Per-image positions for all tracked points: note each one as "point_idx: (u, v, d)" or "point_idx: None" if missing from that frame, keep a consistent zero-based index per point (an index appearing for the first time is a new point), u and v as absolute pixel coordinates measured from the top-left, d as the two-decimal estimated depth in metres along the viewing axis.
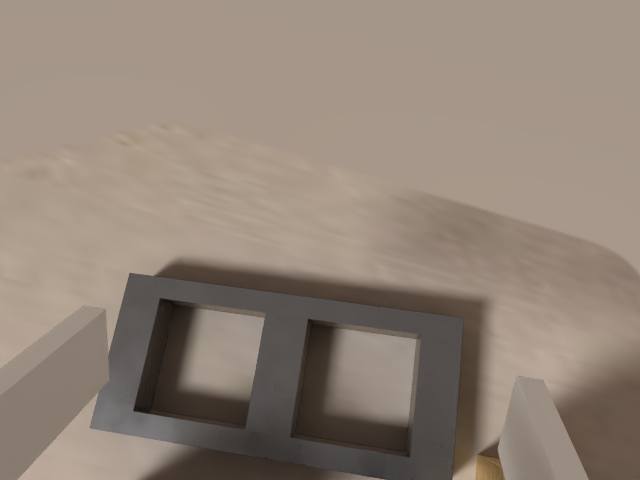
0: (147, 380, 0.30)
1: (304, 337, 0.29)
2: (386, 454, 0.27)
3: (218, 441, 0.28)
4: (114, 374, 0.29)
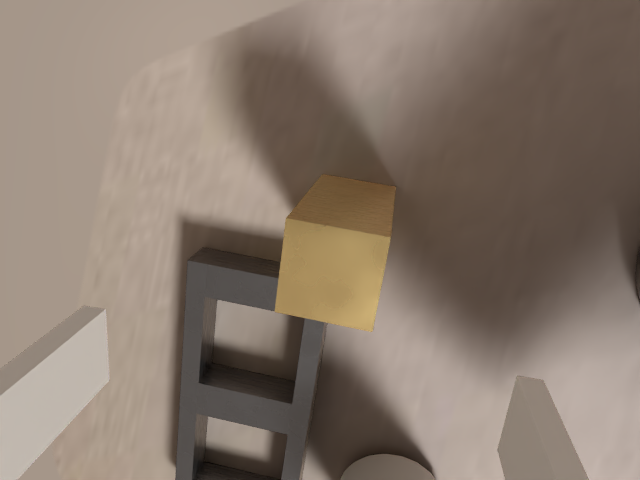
0: None
1: (214, 386, 0.34)
2: (303, 334, 0.32)
3: (296, 453, 0.35)
4: None
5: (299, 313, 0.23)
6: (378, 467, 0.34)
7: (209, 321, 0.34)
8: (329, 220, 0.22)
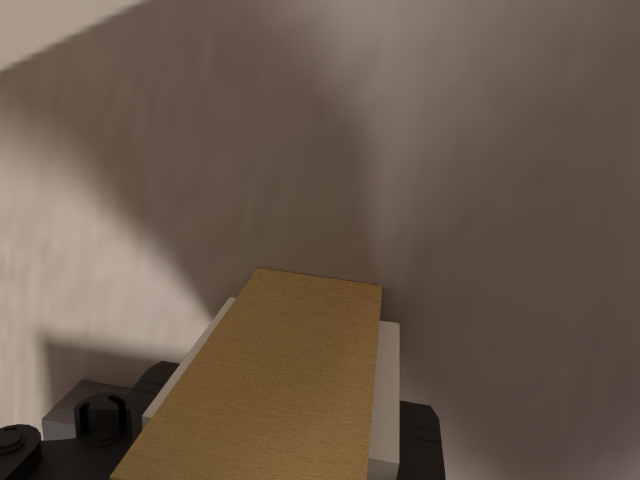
0: None
1: None
2: None
3: None
4: None
5: None
6: None
7: None
8: (223, 459, 0.10)
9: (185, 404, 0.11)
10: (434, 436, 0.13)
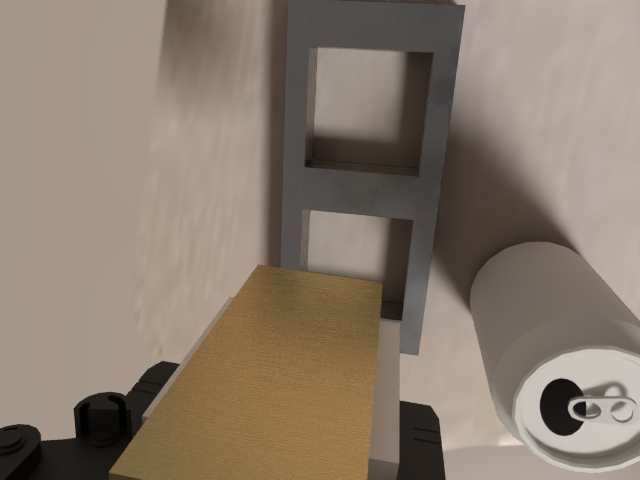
0: None
1: (323, 169, 0.29)
2: (431, 77, 0.26)
3: (425, 243, 0.29)
4: None
5: None
6: (525, 250, 0.29)
7: (311, 92, 0.29)
8: (222, 455, 0.10)
9: (185, 400, 0.11)
10: (434, 436, 0.13)
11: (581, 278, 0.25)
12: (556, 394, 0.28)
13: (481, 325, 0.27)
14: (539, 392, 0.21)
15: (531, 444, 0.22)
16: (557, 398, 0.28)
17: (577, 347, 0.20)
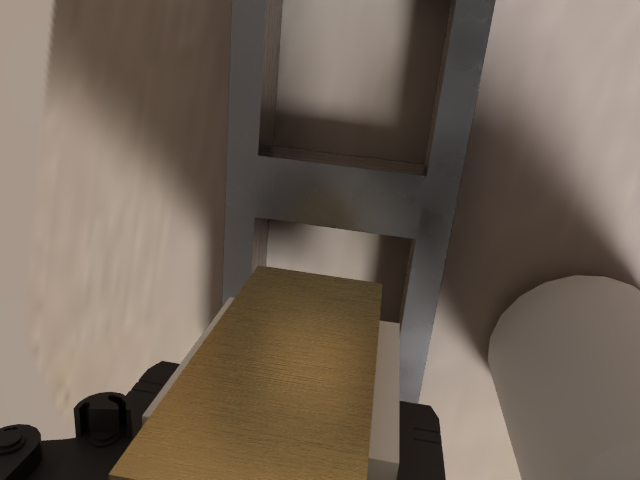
0: None
1: (285, 159, 0.20)
2: (453, 24, 0.17)
3: (431, 273, 0.20)
4: None
5: None
6: (576, 289, 0.20)
7: (272, 45, 0.20)
8: (222, 457, 0.10)
9: (185, 401, 0.11)
10: (434, 436, 0.13)
11: None
12: None
13: (514, 404, 0.18)
14: None
15: None
16: None
17: None
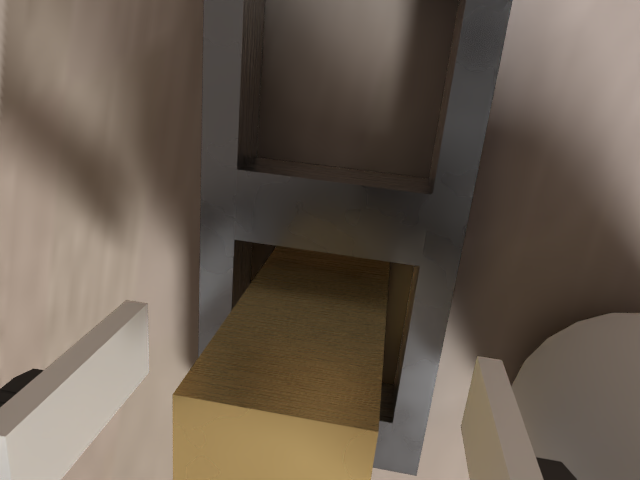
0: None
1: (268, 174, 0.17)
2: (464, 16, 0.15)
3: (437, 305, 0.17)
4: None
5: None
6: (618, 333, 0.17)
7: (253, 42, 0.17)
8: (261, 385, 0.12)
9: (227, 346, 0.13)
10: None
11: None
12: None
13: None
14: None
15: None
16: None
17: None
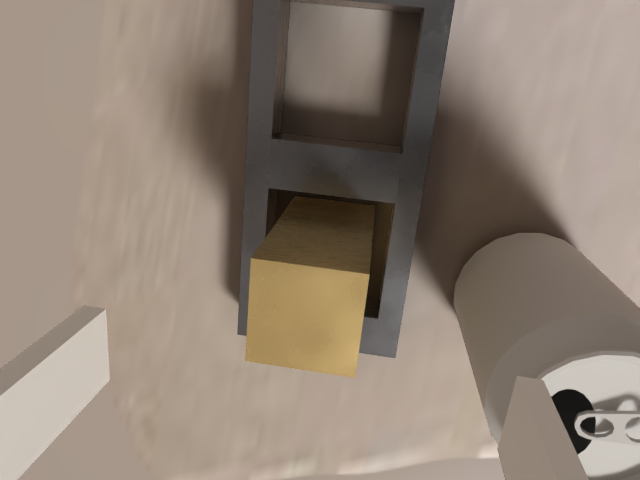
0: None
1: (293, 141, 0.25)
2: (421, 37, 0.23)
3: (407, 230, 0.26)
4: None
5: (273, 361, 0.20)
6: (518, 242, 0.26)
7: (282, 52, 0.25)
8: (300, 256, 0.20)
9: (275, 241, 0.21)
10: None
11: (585, 273, 0.22)
12: None
13: (469, 325, 0.23)
14: None
15: None
16: None
17: (590, 353, 0.17)
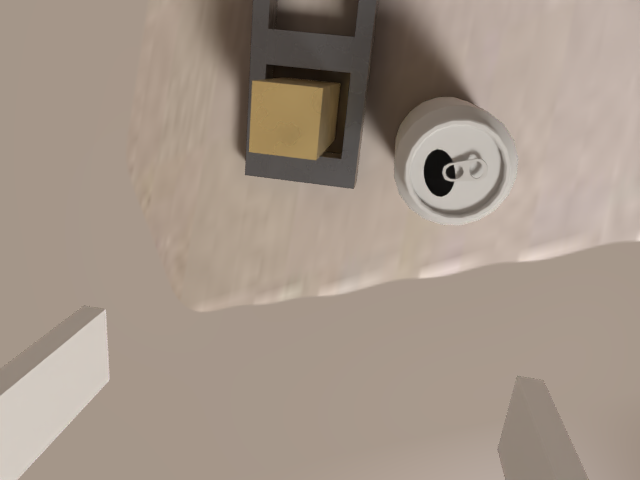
0: None
1: (282, 30, 0.38)
2: None
3: (359, 92, 0.38)
4: (317, 176, 0.41)
5: (266, 151, 0.33)
6: (434, 99, 0.38)
7: None
8: (283, 83, 0.32)
9: (268, 80, 0.34)
10: None
11: (465, 102, 0.34)
12: None
13: (395, 145, 0.36)
14: (423, 161, 0.30)
15: (417, 200, 0.31)
16: None
17: (446, 120, 0.29)
